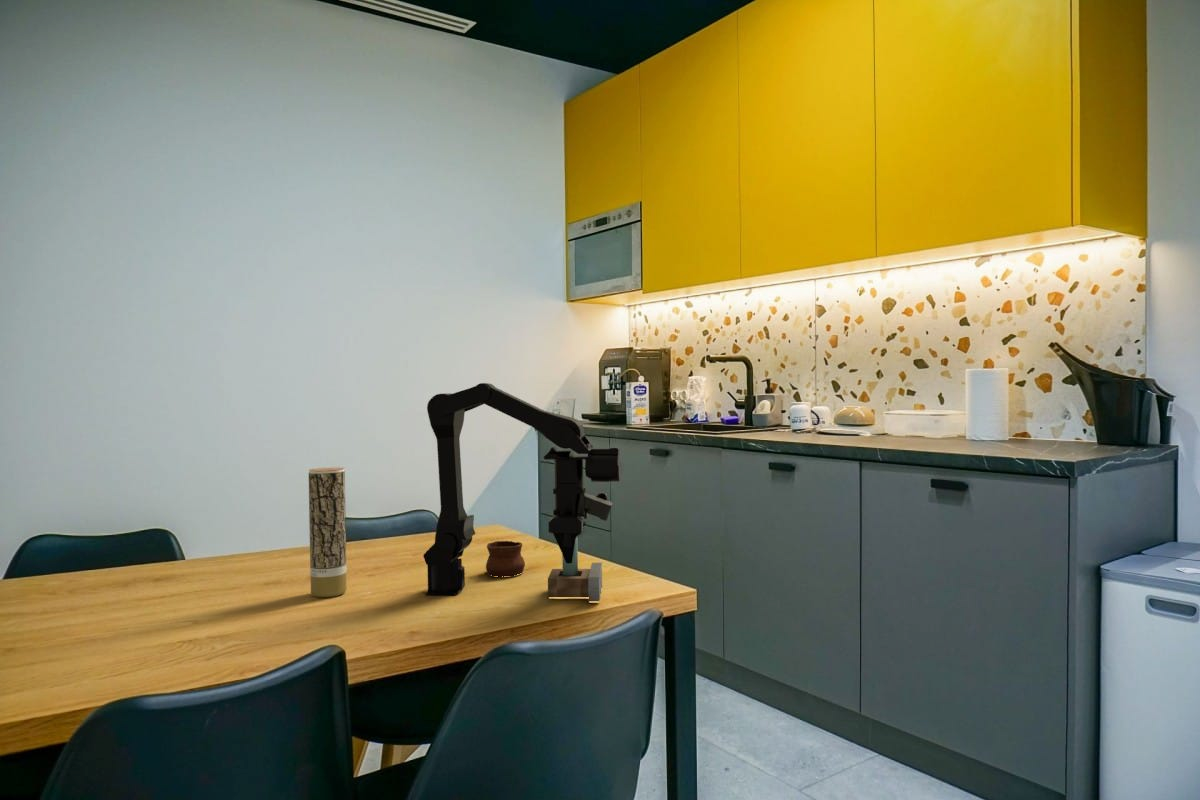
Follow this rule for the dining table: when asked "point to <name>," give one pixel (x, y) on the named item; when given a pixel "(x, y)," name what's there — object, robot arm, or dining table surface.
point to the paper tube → (327, 531)
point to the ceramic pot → (504, 558)
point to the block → (568, 584)
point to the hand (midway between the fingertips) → (569, 561)
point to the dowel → (571, 568)
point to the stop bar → (595, 582)
